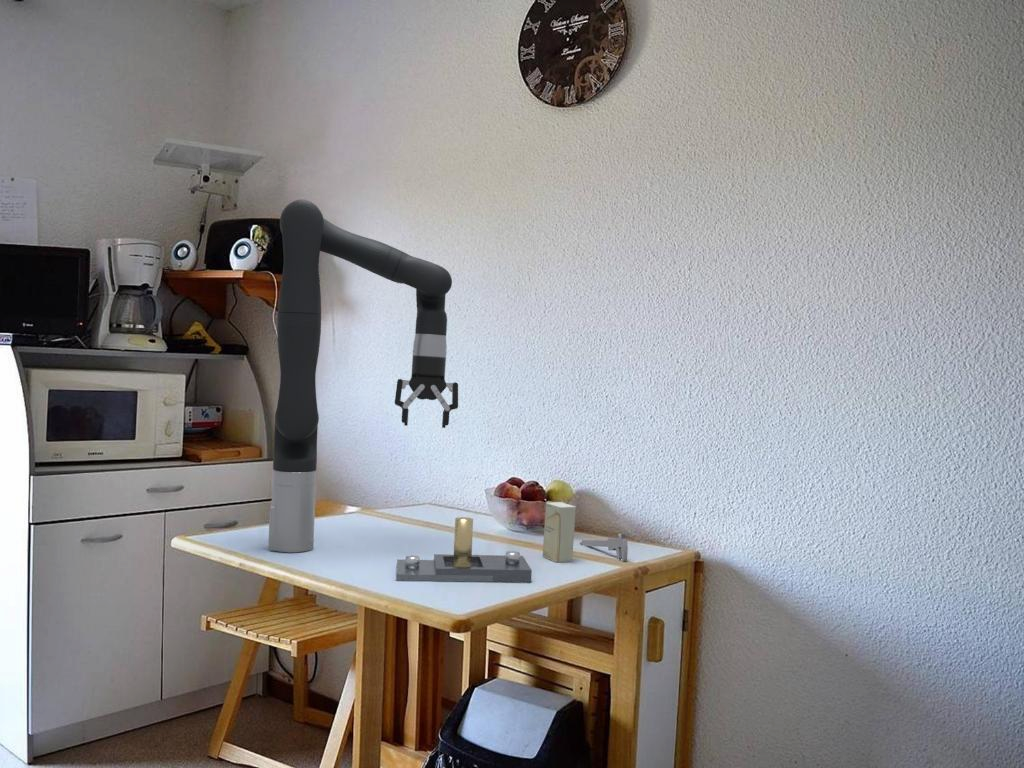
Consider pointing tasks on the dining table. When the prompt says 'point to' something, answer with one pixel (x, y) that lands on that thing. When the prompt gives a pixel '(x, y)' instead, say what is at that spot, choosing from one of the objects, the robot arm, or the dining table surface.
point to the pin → (463, 542)
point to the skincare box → (559, 531)
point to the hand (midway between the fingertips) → (424, 426)
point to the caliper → (611, 545)
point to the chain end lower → (431, 571)
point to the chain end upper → (489, 567)
